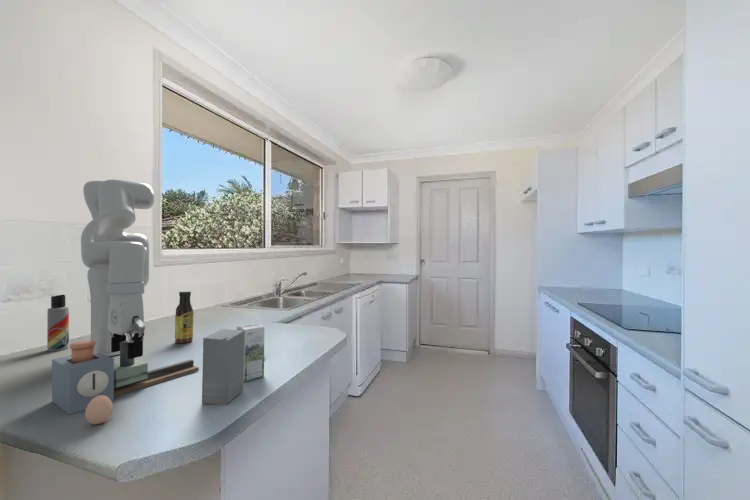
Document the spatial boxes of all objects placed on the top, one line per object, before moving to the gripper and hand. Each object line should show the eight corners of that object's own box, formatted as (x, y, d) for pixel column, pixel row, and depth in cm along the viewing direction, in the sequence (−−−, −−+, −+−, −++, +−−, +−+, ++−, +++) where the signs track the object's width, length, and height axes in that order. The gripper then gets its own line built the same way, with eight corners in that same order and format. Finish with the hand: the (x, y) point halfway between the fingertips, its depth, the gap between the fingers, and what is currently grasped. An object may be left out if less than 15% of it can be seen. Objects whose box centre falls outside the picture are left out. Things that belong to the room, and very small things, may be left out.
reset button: (66, 364, 78) (66, 343, 78) (91, 358, 82) (91, 339, 82) (73, 367, 76) (73, 346, 76) (98, 362, 80) (98, 342, 80)
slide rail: (102, 390, 85) (102, 380, 85) (185, 366, 103) (185, 357, 103) (114, 396, 81) (114, 386, 81) (198, 370, 99) (198, 361, 99)
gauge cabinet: (52, 401, 79) (52, 359, 79) (94, 389, 86) (94, 350, 86) (70, 415, 72) (71, 369, 72) (115, 401, 79) (115, 359, 79)
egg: (106, 427, 67) (106, 399, 67) (80, 430, 66) (80, 401, 66) (116, 416, 72) (116, 390, 72) (92, 419, 70) (92, 392, 70)
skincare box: (220, 390, 85) (220, 328, 85) (246, 391, 84) (246, 328, 85) (199, 405, 77) (199, 336, 77) (228, 406, 76) (228, 337, 76)
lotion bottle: (58, 351, 119) (58, 295, 119) (42, 351, 119) (42, 295, 119) (73, 347, 124) (73, 293, 124) (58, 347, 124) (58, 293, 125)
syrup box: (255, 371, 98) (255, 322, 98) (264, 377, 94) (264, 325, 94) (236, 376, 94) (235, 325, 94) (244, 382, 90) (244, 329, 90)
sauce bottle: (184, 344, 128) (184, 292, 128) (170, 343, 129) (170, 292, 129) (197, 339, 134) (197, 290, 134) (183, 339, 135) (183, 290, 135)
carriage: (106, 382, 85) (106, 343, 85) (137, 374, 91) (137, 337, 91) (116, 387, 82) (116, 346, 82) (147, 378, 88) (147, 340, 88)
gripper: (96, 288, 88) (95, 352, 88) (124, 292, 79) (124, 364, 79) (128, 285, 95) (128, 345, 95) (158, 289, 85) (158, 356, 85)
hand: (126, 354), depth 87 cm, fingers open, 9 cm apart
